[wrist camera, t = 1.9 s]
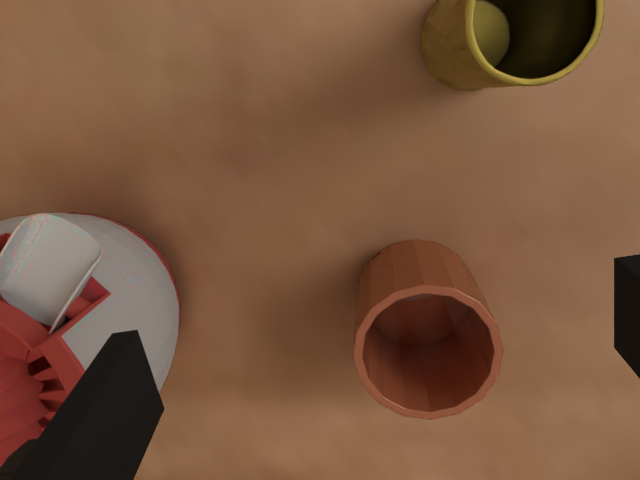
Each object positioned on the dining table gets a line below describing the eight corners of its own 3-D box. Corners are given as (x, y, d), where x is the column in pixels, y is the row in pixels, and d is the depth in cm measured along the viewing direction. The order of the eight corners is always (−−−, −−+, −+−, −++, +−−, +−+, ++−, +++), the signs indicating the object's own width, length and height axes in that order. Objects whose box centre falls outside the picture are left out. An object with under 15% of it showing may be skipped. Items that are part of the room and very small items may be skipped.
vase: (500, -35, 34) (586, -108, 21) (537, 63, 36) (641, 54, 22) (405, 14, 36) (426, -24, 22) (444, 107, 37) (488, 125, 23)
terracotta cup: (483, 246, 39) (515, 295, 30) (463, 354, 41) (488, 427, 33) (364, 233, 39) (363, 277, 31) (351, 340, 42) (346, 408, 33)
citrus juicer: (258, 242, 40) (157, 393, 21) (149, 424, 45) (-15, 682, 26) (59, 122, 39) (-240, 166, 20) (-31, 321, 44) (-343, 512, 25)
